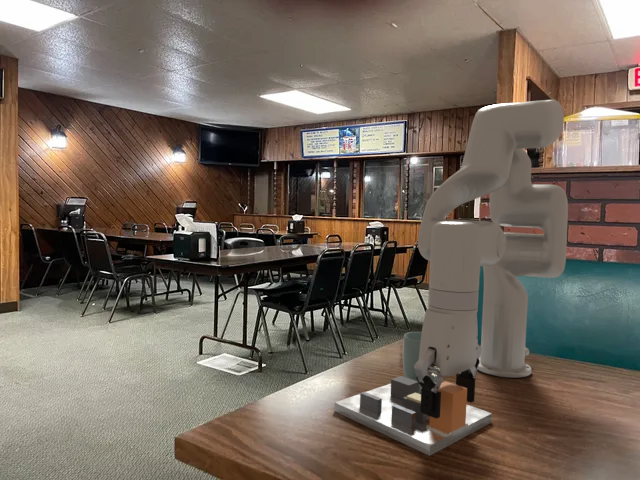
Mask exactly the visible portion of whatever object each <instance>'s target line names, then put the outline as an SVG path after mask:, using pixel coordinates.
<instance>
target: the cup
mask: <svg viewBox="0 0 640 480" xmlns="http://www.w3.org/2000/svg"><path fill="white" fill-rule="evenodd" d="M421 334H422V331H410V332H409V331H408V332H406V333H404V335H403V342H402V344H403V346H402V367H403V368H402V369H403V375H404V377H406V378H409V379H412V380H415V381H417V380H416V377H417V376H416V373H415V370H414V365H415V364H416V362H417V361H418V360H419V352H420V342H421ZM434 370H437V371H440V370H439V369H436V368H434ZM430 378H431V380H432V381H433V383H434V381H435V378H436V376H433V375H431V377H430Z"/></svg>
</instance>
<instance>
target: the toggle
mask: <svg viewBox="0 0 640 480" xmlns="http://www.w3.org/2000/svg"><path fill="white" fill-rule="evenodd" d="M390 379H391V380H390V384H391V395H392V396H394V397H397V398H399V399H402V400H403V398H404V397H406V396H408V395H410V394H413V393H418V391H419V388H420V387H419V383H418V382H417V381H415V380H412V379H409V378H406V377H405V376H403V375H400V376H397V377H394V378H390Z"/></svg>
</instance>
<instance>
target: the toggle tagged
mask: <svg viewBox="0 0 640 480" xmlns="http://www.w3.org/2000/svg"><path fill="white" fill-rule="evenodd" d="M403 407H404V408H407V409H409V410H412V411H414V412H416V421H417V422H419V423H422V424H423V423H425V422H427V421H429V420H430V416H428V415H426V414H423V413H422V412H421V411H420V407H421V394H418V393H413V394H410V395H408V396H406V397H404V398H403Z"/></svg>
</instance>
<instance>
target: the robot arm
mask: <svg viewBox="0 0 640 480" xmlns="http://www.w3.org/2000/svg"><path fill="white" fill-rule="evenodd" d="M564 120H565V117H564V111H563V107H562V105H561V103H560V102H559V101H557V100H556V99H544V100H543V99H541V100H532V101H519V102H518V101H516V102H508V103H506V102H505V103H497V104H492V105H487V106H484V107H482V108H480V109H478V110H477V112H476V113H475V115H474V118H473V121H472V123H471V127H470V131H469V135H468V140H467V144H466V146H465V147H466V148H465V152H464V155H463V158H462V159H463V160H462V164H461V167H460V168H459V170H457V171H456V172H454V173H453V174H452V175H451V176H449V177H448V178H447V179H446V180H445V181H443V183H441V184H440V185H439V187H437V188H436V190H434V191H433V193H432V194H431V195H430V197H429V198H428V200H427V202H426V204H425V208H424V212H423V213H422V214H423V215H422V218H421V221H420V225H419V229H418V237H417V247H418V251H419V253H420V255H421V256H422V258H424V259H425V260H427V261H429V278H428V279H429V280H428V282H429V283H428V302H427V303H428V304H427V305H428V306H427V308H426V310H425V314H424V318H423V323H422V330H421V332H422V334H421V342H420V352H419V360H418V361H417V362H416V364H415V365H414V370H415V373H416V376H417V377H416V380H417V382H418V383H419V388H421V407H420V411H421V412H422V413H423V414H426V415H428V416H431V417H433V418H436V419H437V418H439V417H440V406H441V392H439V391H438V390H439V388H440V386H441V383H442V382H444V379H445V378H449V377H451V376H452V377H453V376H456V377H455V384H456V385H459V386H462V387H465V388H467V402H468V403H473V402H475V396H476V395H475V393H476V392H475V391H476V378H477V376H478V371H480V372H481V373H484V374H487V375H491V376H495V377H501V378H512V379H513V378H514V379H515V378H517V379H518V378H526V377H528V376H530V375H531V374H532V367H531V366H530V365H529V364H528V363H526V362H525V359H526V358H525V357H526V356H529V354H530V349H529V348H528V347H526V342H527V341H526V340H527V339H526V337H527V323H528V322H527V321H528V319H527V318H528V302H529V300H528V299H529V298H528V297H529V296H528V293H527V290H526V288H525V287H524V285H523V284H522V283H521V281H520V280H519V278H518V277H533V278H547V279H552V278H553V279H554V278H558V277H560V276H561V275H562V274H563V273H564V271H565V268H566V262H567V242H568V241H567V240H568V222H569V221H568V220H569V219H568V215H569V213H568V212H569V207H568V206H569V203H568V202H569V201H568V197H567V194H566V193H567V192H566V191H565V189H564V188H562V187H561V186H559V185H556V184H549V183H548V184H543V183H542V184H539V183H537V184H533V183H532V160H531V158H530V157H529V155H528V154H527V152H526V150H524V149H543V148H548V147H549V146H551V145H552V144H554V143H555V142H556V141H557V140H558V139H559V138H560V137H561V134H562V131H563V127H564V122H565V121H564ZM487 195H489V216H490V220H491V221H487V220H468V219H446V218H447V217H448V215H449V214H451V212H452V211H454V210H455V209H457V208H458V207H459V206H461V205H463V204H466V203H468V202H470V201H474V200H477V199H479V198H481V197H484V196H487ZM502 227H508V228H509V227H511V228H531V229H540V230H542V232H543V233H524V232H507V231H506V232H504V230H503V229H502ZM480 267H482V270H483V272H482V273H483V301H482V319H481V335H480V336H481V340H480V341H481V342H480V344H479V338H478V337H479V334H478V333H479V330H478V329H479V328H478V327H479V326H478V312H479V310H478V309H479V291H480V275H481V274H480V271H481V268H480ZM434 368H436V369H439V370H440V371H437V370H434ZM431 375H433V376H436V378H435V381H434V383H433V381H432V380H431V378H430V377H431Z"/></svg>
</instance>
